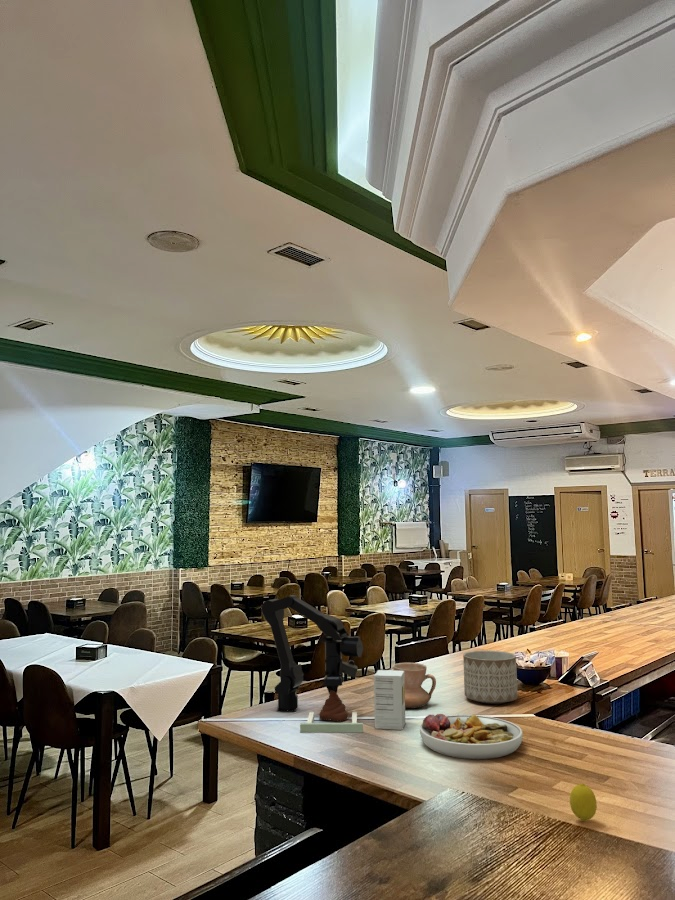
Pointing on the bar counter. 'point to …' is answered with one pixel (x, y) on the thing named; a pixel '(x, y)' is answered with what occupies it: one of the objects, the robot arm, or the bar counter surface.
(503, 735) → the bowl
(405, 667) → the ceramic jug
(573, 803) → the lemon
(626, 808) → the bar counter surface
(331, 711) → the poop emoji
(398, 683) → the supplement box
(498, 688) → the planter
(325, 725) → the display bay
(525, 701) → the bar counter surface
